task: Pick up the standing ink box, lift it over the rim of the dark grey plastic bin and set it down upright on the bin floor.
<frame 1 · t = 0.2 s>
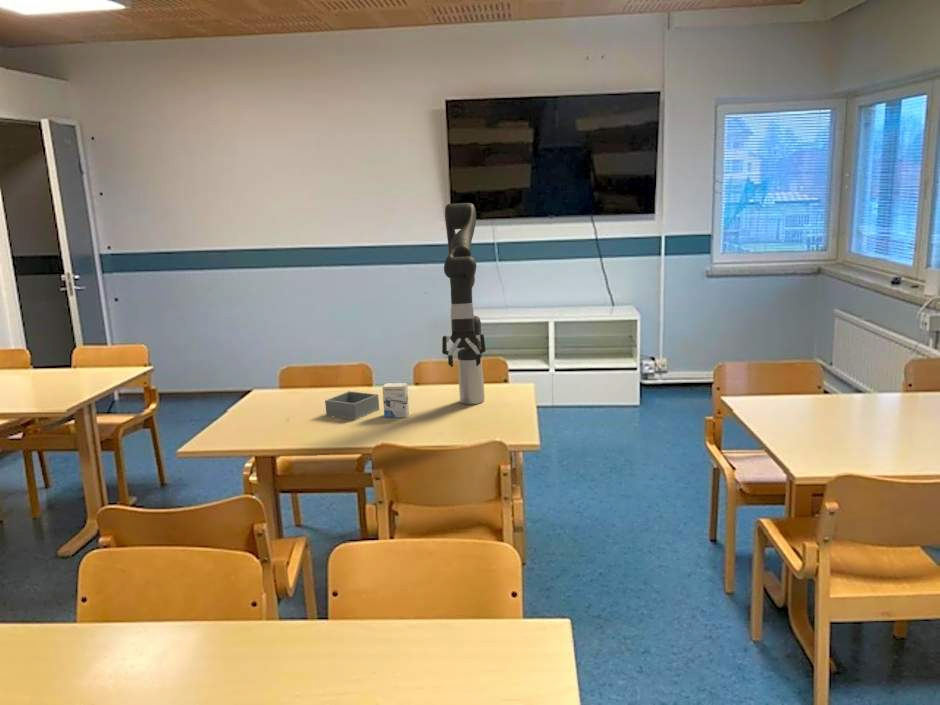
hand: (464, 366, 243), 22 cm above the table, tool pointing down, fingers open, 8 cm apart
grey bin: (353, 412, 275), on the table
ink box: (396, 416, 269), on the table
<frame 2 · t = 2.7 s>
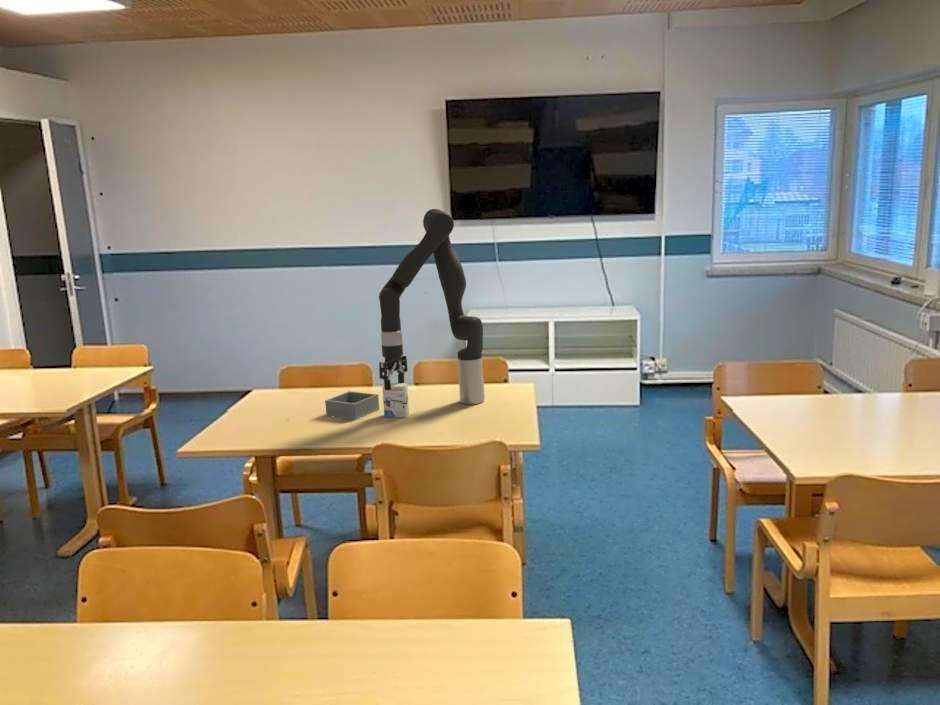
hand: (394, 387, 266), 11 cm above the table, tool pointing down, fingers open, 8 cm apart
ink box: (396, 416, 269), on the table, touching gripper
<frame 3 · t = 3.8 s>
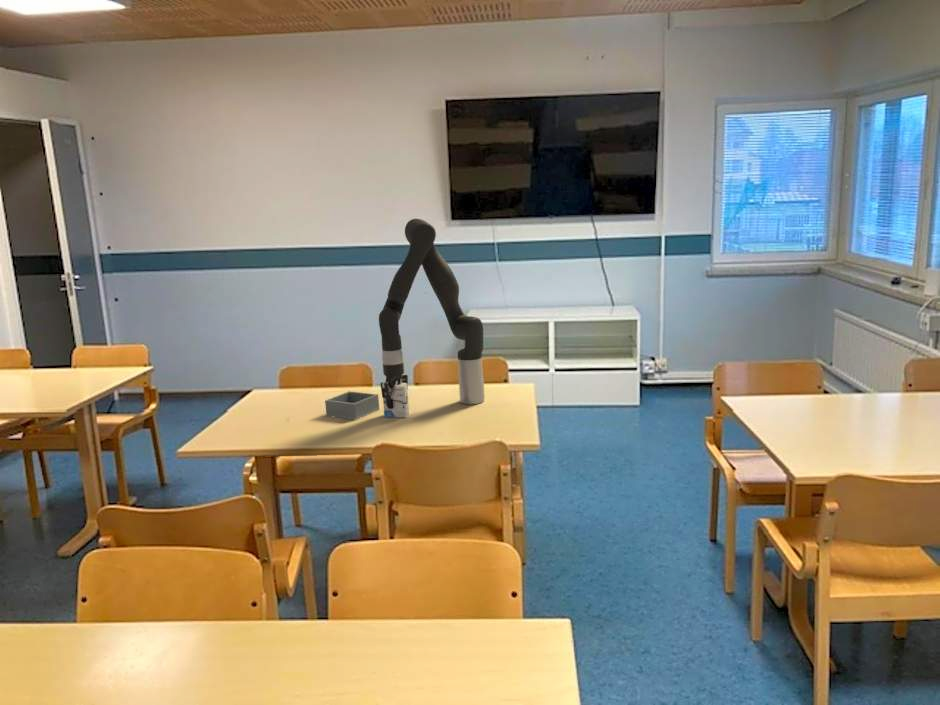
hand: (396, 405, 268), 4 cm above the table, tool pointing down, fingers closed on ink box, 6 cm apart
ink box: (396, 416, 269), on the table, touching gripper
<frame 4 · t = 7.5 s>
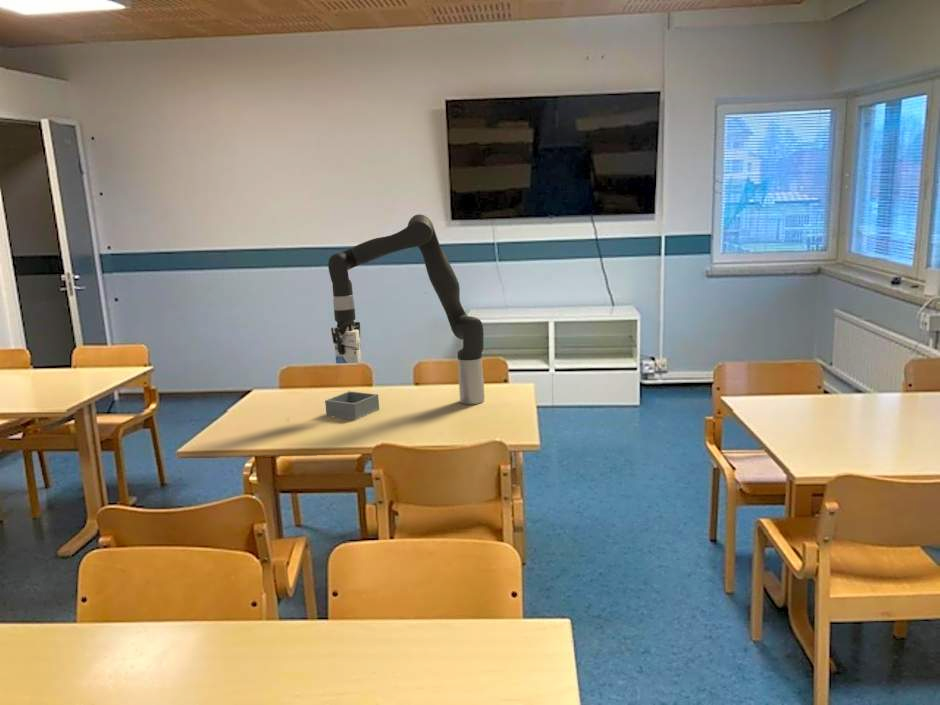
hand: (348, 352, 270), 23 cm above the table, tool pointing down, fingers closed on ink box, 6 cm apart
ink box: (348, 362, 271), point 19 cm above the table, touching gripper
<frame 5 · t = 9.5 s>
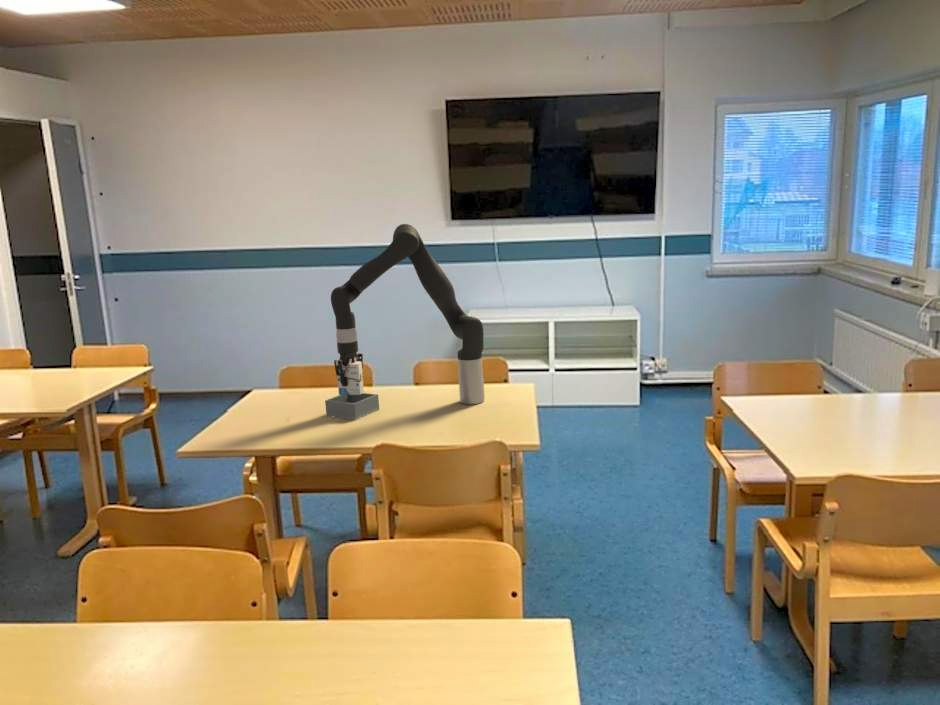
hand: (350, 383, 273), 11 cm above the table, tool pointing down, fingers closed on ink box, 6 cm apart
ink box: (351, 393, 274), point 7 cm above the table, touching gripper
when the fingers open (7 cm above the table, at t = 11.0 s): ink box drops 2 cm, resting on grey bin.
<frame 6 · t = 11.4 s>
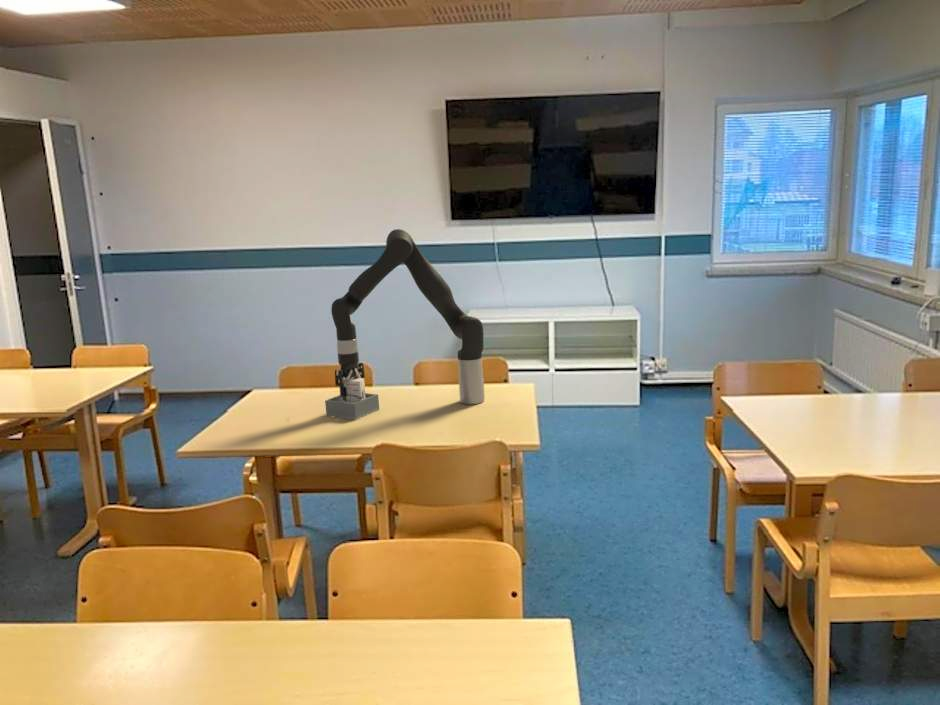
hand: (351, 393, 274), 8 cm above the table, tool pointing down, fingers open, 8 cm apart
ink box: (354, 410, 276), point 1 cm above the table, touching grey bin
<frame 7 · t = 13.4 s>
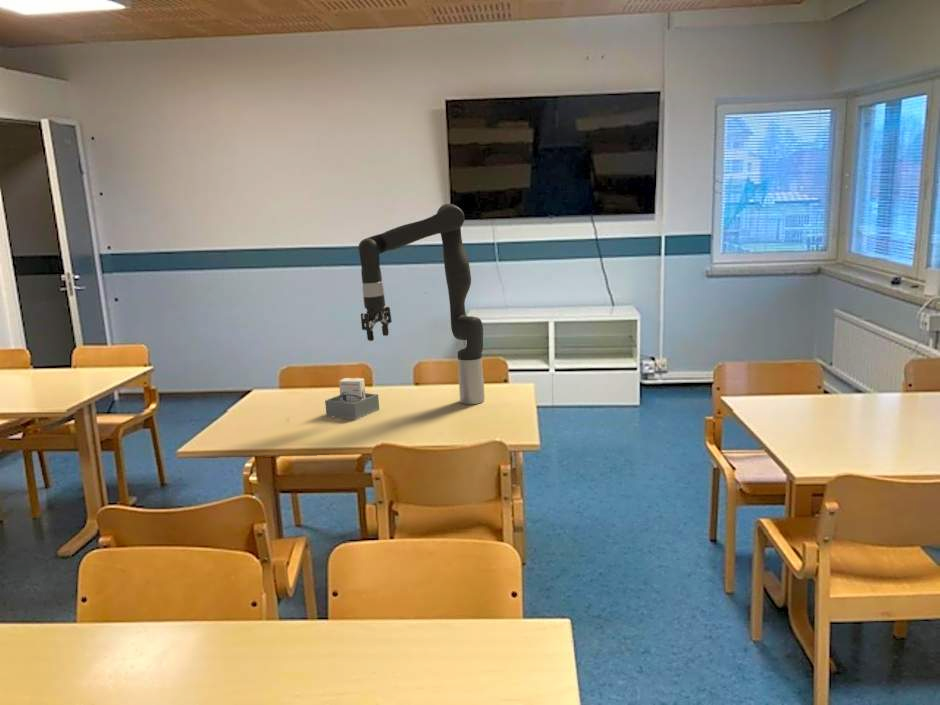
hand: (378, 338, 268), 28 cm above the table, tool pointing down, fingers open, 8 cm apart
nothing on the table moved.
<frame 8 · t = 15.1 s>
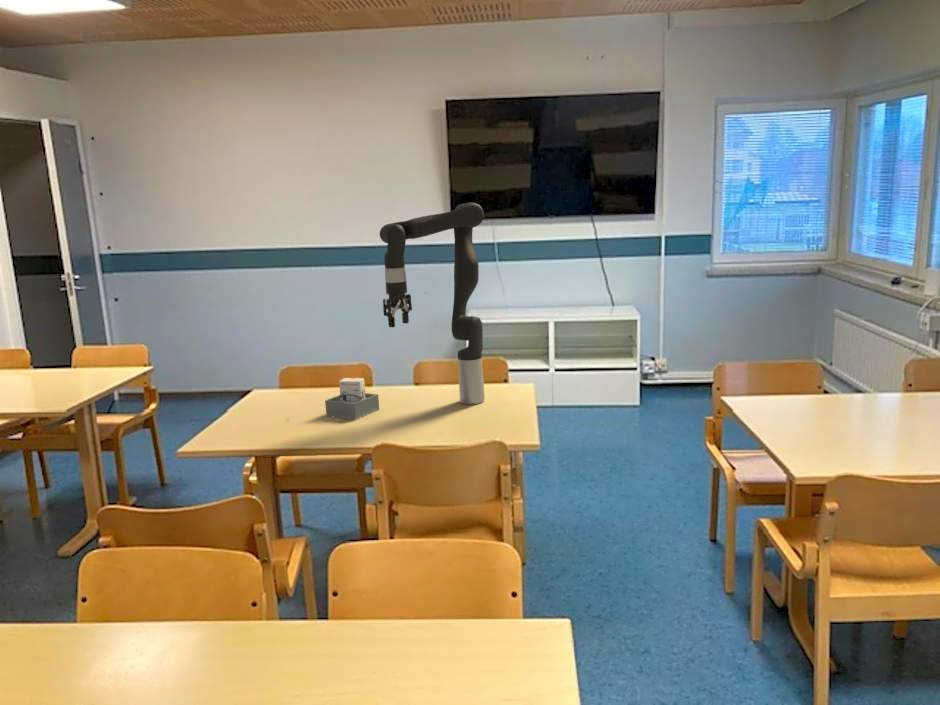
hand: (399, 325, 265), 33 cm above the table, tool pointing down, fingers open, 8 cm apart
nothing on the table moved.
at the end: ink box 0.6 cm off-centre on the grey bin, point 0.8 cm above the grey bin's base; ink box tilted 0°; the gripper is holding nothing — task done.
